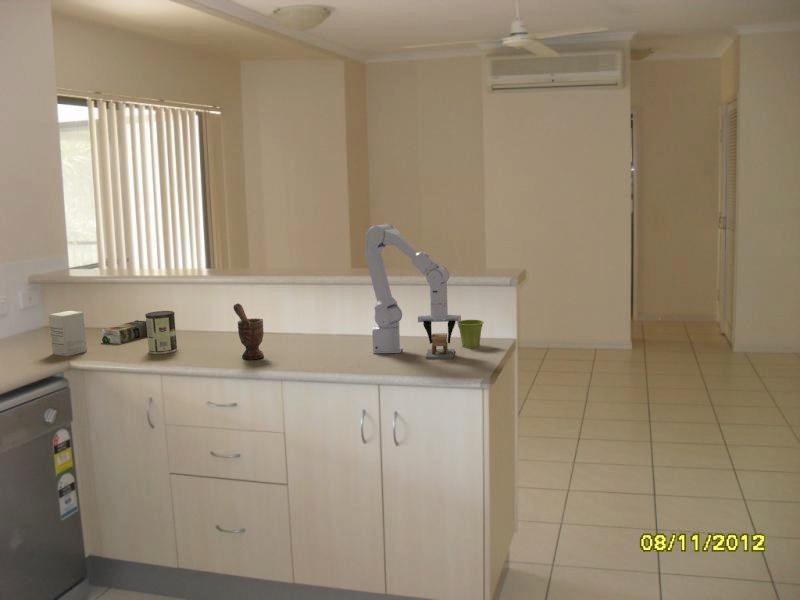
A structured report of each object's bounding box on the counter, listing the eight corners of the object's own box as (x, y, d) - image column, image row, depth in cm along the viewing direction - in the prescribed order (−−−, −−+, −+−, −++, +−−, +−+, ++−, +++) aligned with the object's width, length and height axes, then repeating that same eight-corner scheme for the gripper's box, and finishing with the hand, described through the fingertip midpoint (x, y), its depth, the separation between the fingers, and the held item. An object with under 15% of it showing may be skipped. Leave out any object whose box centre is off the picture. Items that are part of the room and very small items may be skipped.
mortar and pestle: (258, 362, 299) (254, 304, 296) (233, 362, 300) (229, 304, 297) (268, 355, 310) (264, 298, 307) (244, 355, 312) (240, 298, 309)
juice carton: (119, 345, 339) (117, 329, 339) (99, 343, 344) (98, 328, 343) (155, 335, 357) (154, 320, 356) (136, 334, 362) (135, 319, 361)
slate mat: (425, 359, 295) (425, 356, 295) (428, 351, 307) (428, 349, 307) (453, 358, 294) (452, 356, 294) (454, 351, 306) (454, 348, 306)
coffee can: (167, 347, 331) (164, 309, 329) (182, 350, 324) (180, 312, 322) (142, 351, 324) (139, 313, 321) (158, 355, 317) (155, 316, 314)
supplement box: (73, 349, 333) (69, 310, 330) (87, 351, 328) (84, 311, 325) (51, 354, 325) (47, 314, 323) (66, 356, 320) (62, 315, 318)
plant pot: (482, 349, 308) (482, 324, 307) (455, 348, 310) (455, 324, 308) (485, 343, 317) (485, 319, 316) (459, 343, 319) (458, 319, 318)
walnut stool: (433, 350, 304) (432, 333, 303) (447, 350, 304) (447, 333, 303) (431, 354, 298) (431, 337, 297) (446, 354, 297) (446, 336, 296)
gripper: (416, 305, 295) (417, 345, 297) (460, 304, 293) (461, 344, 295) (418, 302, 302) (419, 341, 304) (460, 301, 300) (461, 340, 302)
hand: (440, 342), depth 300 cm, fingers open, 5 cm apart
